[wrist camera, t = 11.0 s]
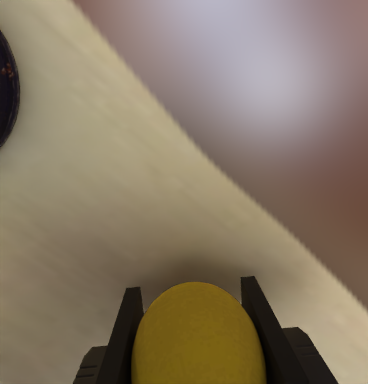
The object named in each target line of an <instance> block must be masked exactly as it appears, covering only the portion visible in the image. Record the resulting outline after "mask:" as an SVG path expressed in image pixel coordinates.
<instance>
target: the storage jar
mask: <svg viewBox="0 0 368 384" xmlns="http://www.w3.org/2000/svg"><path fill="white" fill-rule="evenodd" d="M19 95H20V87H19V78H18V71H17V68H16V64H15V60H14V57H13V54H12V52H11V50H10V47H9V45H8V42H7V41H6V39H5V37H4V35H3V34H2V32H1V30H0V147H1V146H2V145H3V144H4V143H5V141H6V139H7V138H8V136H9V134H10V133H11V131H12V128H13V126H14V123H15V120H16V117H17V112H18V107H19Z"/></svg>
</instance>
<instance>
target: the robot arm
mask: <svg viewBox="0 0 368 384" xmlns="http://www.w3.org/2000/svg"><path fill="white" fill-rule="evenodd" d="M241 295H242V307H243V308H244V310H245V311H246V313H247V314H248V315H249V317H250V318H251V320H252V322H253V324H254V326H255V328H256V331H257V334H258V336H259V339H260V342H261V345H262V349H263V353H264V357H265V364H266V378H267V384H338V382H337V381H336V379H335V377H334V376H333V374H332V373H331V371H330V369H329V368H328V366H327V365H326V363H325V362H324V360H323V358H322V357H321V355H320V354H319V352H318V351H317V349H316V347H315V346H314V344H313V343H312V341H311V340H310V338H309V336H308V335H307V334H306V333H305V332H303V331H302V330H301V329H300V328H298V327H292V328H281V326H280V324H279V322H278V320H277V318H276V317H275V315H274V313H273V311H272V309H271V307H270V305H269V303H268V301H267V299H266V297H265V296H264V294H263V292H262V290H261V288H260V286H259V284H258V282H257V280H256V278H255V276H250V277H241ZM143 316H144V311H143V304H142V297H141V290H140V287H132V288H126V291H125V294H124V297H123V300H122V303H121V306H120V309H119V312H118V315H117V318H116V321H115V325H114V328H113V331H112V334H111V337H110V340H109V343H108V346H98V347H92V348H91V349H90V350H89V352H88V353H87V354H86V355H85V356H84V358H83V360H82V363H81V365H80V369H79V370H78V372H77V375H76V378H75V380H74V382H73V384H131V356H132V348H133V344H134V340H135V337H136V333H137V330H138V327H139V324H140V322H141V319H142V317H143Z"/></svg>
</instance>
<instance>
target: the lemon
mask: <svg viewBox="0 0 368 384" xmlns="http://www.w3.org/2000/svg"><path fill="white" fill-rule="evenodd" d="M131 384H267V378H266V364H265V357H264V353H263V349H262V345H261V342H260V339H259V336H258V334H257V331H256V328H255V326H254V324H253V322H252V320H251V318H250V317H249V315H248V314H247V313H246V311H245V310H244V308H243V307H242V306H241V304H240V303H239V302H238V301H237V300H236V299H235V298H234V297H233V296H231V295H230V294H229V293H228V292H226V291H225V290H223V289H221V288H219V287H217V286H215V285H213V284H208V283H203V282H186V283H182V284H179V285H175V286H173V287H172V288H170V289H168V290H166V291H164V292H163V293H162V294H161V295H160V296H159V297H158V298H157V299H155V300H154V301H153V302H152V304H151V305H150V307H149V308H148V310H147V311H146V313H145V314H144V316H143V317H142V319H141V322H140V324H139V327H138V330H137V333H136V337H135V340H134V344H133V348H132V356H131Z"/></svg>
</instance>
